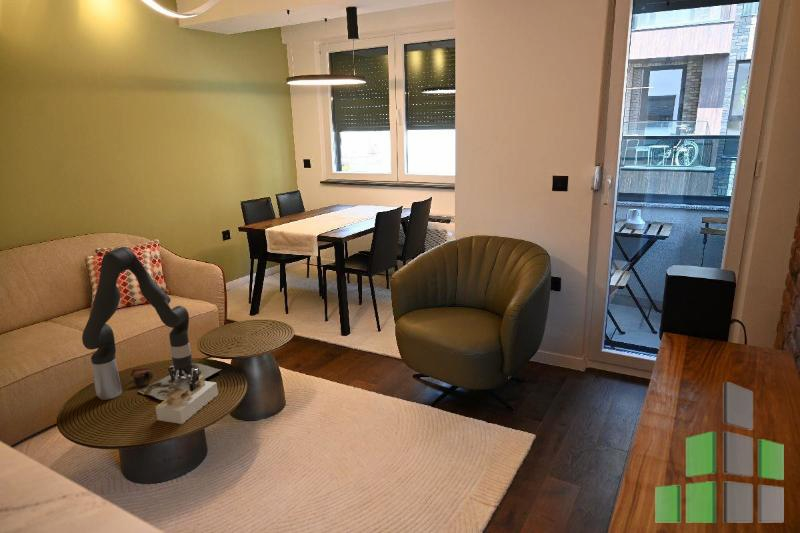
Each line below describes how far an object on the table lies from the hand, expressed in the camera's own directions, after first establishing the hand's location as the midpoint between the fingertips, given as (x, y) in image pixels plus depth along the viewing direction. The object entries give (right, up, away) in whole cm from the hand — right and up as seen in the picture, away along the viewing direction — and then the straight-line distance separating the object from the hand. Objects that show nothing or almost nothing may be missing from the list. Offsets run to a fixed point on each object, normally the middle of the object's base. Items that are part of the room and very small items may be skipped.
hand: (186, 389), depth 213 cm
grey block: (-1, +2, -3) cm, 3 cm away
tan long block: (0, -2, +1) cm, 2 cm away
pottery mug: (-31, -3, +25) cm, 40 cm away
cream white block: (0, +3, +1) cm, 3 cm away
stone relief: (-12, -3, +23) cm, 27 cm away
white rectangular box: (0, -8, +2) cm, 8 cm away
